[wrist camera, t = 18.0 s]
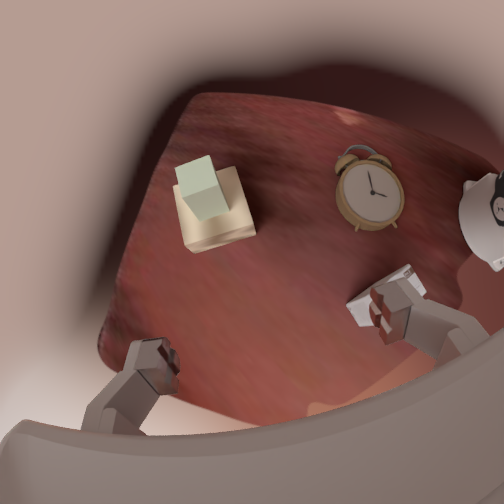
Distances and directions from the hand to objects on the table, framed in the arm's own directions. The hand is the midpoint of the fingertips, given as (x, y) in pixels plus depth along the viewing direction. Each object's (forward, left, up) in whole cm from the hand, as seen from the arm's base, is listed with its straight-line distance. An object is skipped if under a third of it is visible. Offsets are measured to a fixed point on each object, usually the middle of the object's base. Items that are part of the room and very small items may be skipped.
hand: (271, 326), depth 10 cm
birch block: (+5, -18, -30) cm, 35 cm away
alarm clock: (-20, -17, -30) cm, 40 cm away
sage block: (+5, -18, -25) cm, 31 cm away
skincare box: (-14, +1, -29) cm, 33 cm away
